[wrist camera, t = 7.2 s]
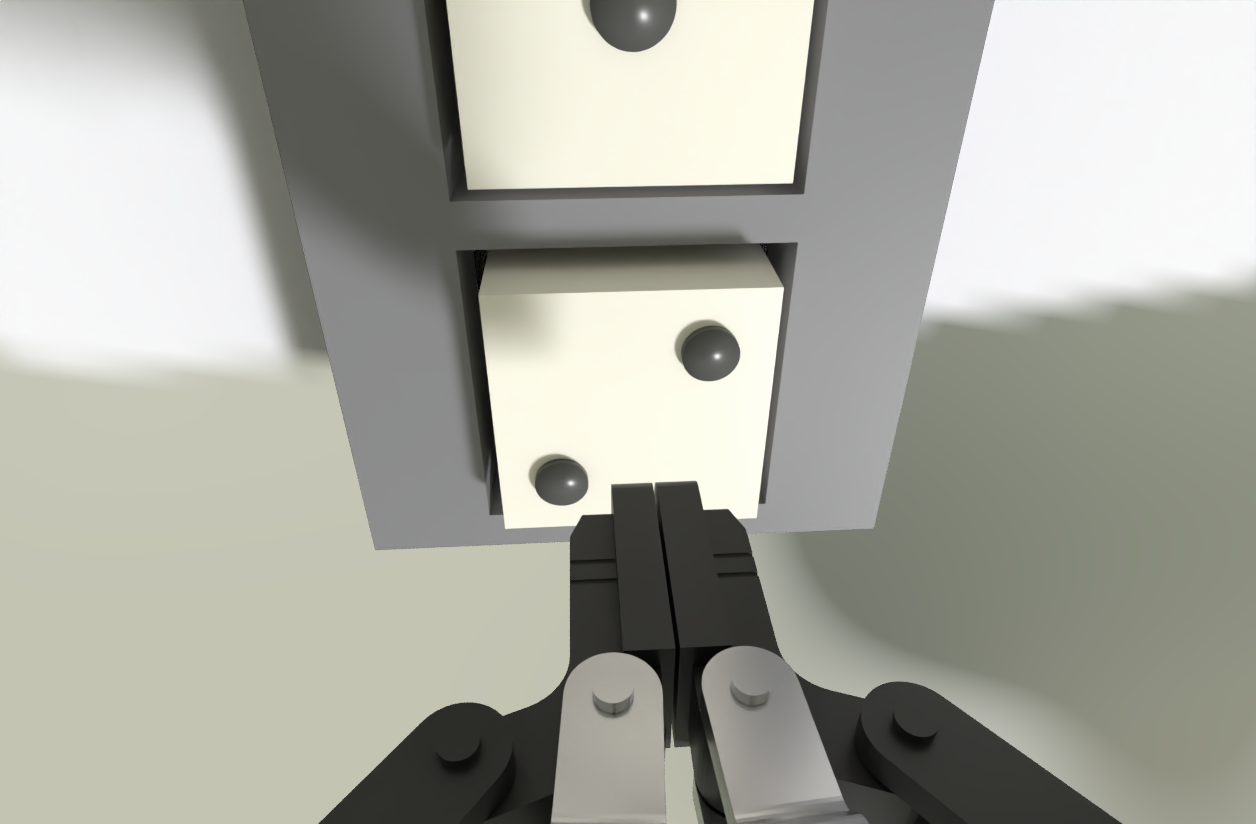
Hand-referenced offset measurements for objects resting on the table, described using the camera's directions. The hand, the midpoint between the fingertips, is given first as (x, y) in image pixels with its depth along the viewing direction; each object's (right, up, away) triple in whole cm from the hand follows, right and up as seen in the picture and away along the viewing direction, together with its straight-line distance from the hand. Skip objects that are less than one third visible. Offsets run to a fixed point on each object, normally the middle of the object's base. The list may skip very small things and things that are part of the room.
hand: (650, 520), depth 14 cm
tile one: (0, +10, +1) cm, 10 cm away
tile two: (0, +3, +5) cm, 6 cm away
